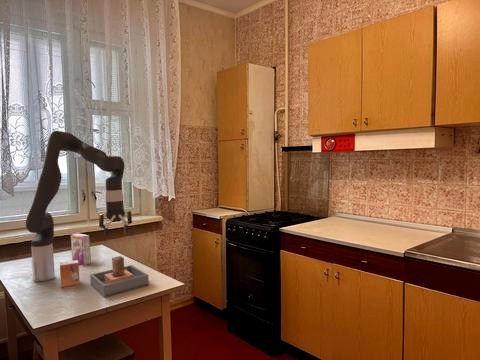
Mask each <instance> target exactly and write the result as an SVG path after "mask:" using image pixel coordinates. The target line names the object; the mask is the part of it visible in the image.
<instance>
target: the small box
mask: <svg viewBox="0 0 480 360" xmlns="http://www.w3.org/2000/svg"><path fill="white" fill-rule="evenodd" d="M79 267H80V264H79V263H78V260H75V261H72V260H70V261H63V262H59V277H60V288H65V287H71V286H78V285H80V284H81V283H80V268H79Z"/></svg>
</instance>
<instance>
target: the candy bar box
mask: <svg viewBox="0 0 480 360" xmlns="http://www.w3.org/2000/svg"><path fill="white" fill-rule="evenodd" d="M70 245H71V258H72V260H71V261H75V260H78V263H79V266H80V265H81V266H87V265H90V264H92V260H91V259H92V258H91V255H92V254H91V243H90V235H89V234H88V235H87V234H83V233H73V234H70Z"/></svg>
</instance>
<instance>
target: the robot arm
mask: <svg viewBox="0 0 480 360" xmlns="http://www.w3.org/2000/svg"><path fill="white" fill-rule="evenodd" d="M61 152H73V153H76V154H79V155H80V156H81V157H82V158H83V159H84V160H85V161H88V162H89V163H92V164H93V165H95V166H97V168H99V169H100V170H102V171H104V172H107V173H110V176H109V177H107V178H105V208H106V209H105V210H106V213H100V214H99V215H98V217H99V218H98V227H99V228H101V229H103V234H104V236H105V237H107V238H108V237H110V236H109V235H110V234H109V226H110V225H111V224H112V223H116V222H117V223H119V222H121V223H122V224H123V233H124V234H128V232H129V225H131V224H132V223H133V217H132V211H131V210H126V211H125V208H124V205H125V204H124V200H125V199H124V193H123V178H124V177H123V176H124V172H125V161H124V159H123V158H122V156H119V155H118V156H117V155H115V156H114V155H110V156H109V155H108V154H107V153H106V152H105V151H103V150H101V149H99V148H97V147H94V146H93V145H90V144H88V143H85V142H84V141H83V140H81V139H80V138H78V137H77V136H75V135H74V134H72V133H70V132H67V131H62V130H53V131H52V132H50V134H49V136H48V138H47V144H46V149H45V155H44V160H43V166H42V169H41V172H40V174H39V175H40V177H39V179H38V183H37V188H36V191H35V195H34V199H33V201H32V204H31V206H30V209H29V211H28V214H27V217H26V220H25V228H26V230H27V231H28V232H29V233H31V234H35V235H34V237H33V238H32V240H31V241H30V247H31V248H30V250H31V258H32V259H31V270H32V279H33V281H34V282H35V283H38V282H46V281H50V280H52V279H55V277H56V274H55V271H56V270H55V261H54V246H53V245H54V244H53V243H54V242H53V240H54V237H55V226H54V225H55V224H54V218H53V216H52V214H50V213H49V212H47V209H48V207H49V205H50V203H51V202H52V200H54V198H55V197H56V195H57V194H58V192H59V189H60V186H61V183H62V172H61V169H60V166H59V157H60V153H61ZM124 216H126V217H127V220H126V219H125V218H124ZM105 218H106V221H105V222H104V220H105Z"/></svg>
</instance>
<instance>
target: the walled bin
mask: <svg viewBox="0 0 480 360" xmlns="http://www.w3.org/2000/svg"><path fill="white" fill-rule="evenodd" d="M124 271H125V275H124V276H120V277H113V268H112V269H107V270H104V271H99V272H96V273H90V274H89V277H90V279H89V281H90V285H91V287H92V288H93V289H95V290H96V291H97V292H98V293H99V294H100V295H101V296H102V297H103V298H108V297H111V296H115V295H118V294H123V293H126V292H130V291H133V290H137V289H140V288H144V287H148V286H150V285H149V284H150V282H149V281H150V280H149V274H147V273H146V272H145V271H142V270H140V269H139V268H137V267H136V266H134V265H132V264H130V265H126V266H125V265H124Z"/></svg>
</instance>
